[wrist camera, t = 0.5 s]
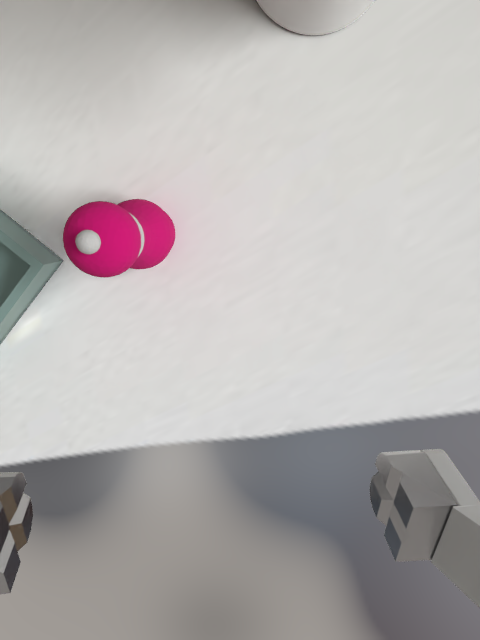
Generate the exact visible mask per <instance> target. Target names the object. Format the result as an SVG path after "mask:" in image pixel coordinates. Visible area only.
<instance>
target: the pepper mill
mask: <svg viewBox="0 0 480 640" xmlns="http://www.w3.org/2000/svg"><path fill="white" fill-rule="evenodd" d="M174 240H175V228H174V225H173V222H172V220H171V218H170V217H169V216H168V215H167V213H165V212H164V211H163V210H162V209H161V208H160V207H159V206H157V205H156V204H154V203H152V202H150V201H147V200H142V199H133V200H128V201H124V202H122V203H119V204H118V205H116V204H113V203H109V202H103V201H98V202H91V203H88V204H85V205H83V206H81V207H79V208H78V209H76V210H75V211H74V212H73V213H72V214H71V216H70V217H69V218H68V220H67V222H66V225H65V228H64V233H63V242H64V248H65V250H66V253H67V255H68V257H69V258H70V260H71V261H72V262H73V263H74V265H75V266H76V267H78V268H79V269H80V270H81V271H83V272H85V273H87V274H90V275H92V276H97V277H112V276H116V275H119V274H121V273H123V272H125V271H126V270H127V269H129V268H133V269H146V268H150V267H153V266H155V265H157V264H159V263H160V262H161V261H163V260H164V259H165V257H166V256H167V255H168V253H169V252H170V250H171V248H172V246H173V244H174Z"/></svg>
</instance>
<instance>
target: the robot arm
mask: <svg viewBox="0 0 480 640" xmlns="http://www.w3.org/2000/svg"><path fill="white" fill-rule="evenodd" d="M256 1H257V2H258V4H259V6H260V7H261V8H262V10H263V11H264V12H265V13H266V14H267V15H268V16H269V17H270V18H271V19H272V20H273V21H274V22H276V23H277V24H279V25H280V26H282V27H284V28H286V29H288V30H290V31H293V32H296V33H299V34H305V35H323V34H329V33H332V32H335V31H338V30H341V29H343V28H345V27H347V26H348V25H350V24H352V23H353V22H354V21H356V20H357V19H358V18H360V17H361V16H362V15H363V14H364V13H365V12H366V11H367V10H368V9H369V8H370V6H371V5H372V4H373V3H374V2H375V1H376V0H256ZM375 465H376V467H377V469H378V472H377V473H376V474H375V475H374V476H373V477H372V479H371V483H370V500H371V504H372V508H373V510H374V513H375V515H376V517H377V519H378V520H380V521H381V522H382V523H384V524H385V525H386V529H385V533H384V536H385V539H386V541H387V543H388V546H389V548H390V550H391V553H392V555H393V557H394V560H395V561H396V562H399V561H418V560H432V561H431V562H432V563H433V564H434V565H435V566H436V567H437V568H438V569H439V570H440V571H441V572H442V573H443V574H444V575H445V576H446V577H447V578H448V579H450V580H451V581H452V582H453V583H454V584H455V585H456V586H457V587H458V588H459V589H460V590H461V591H462V592H463V593H464V594H465V595H466V596H467V597H468V598H469V599H471V601H472V602H474V603H475V604H476V605H477V606H478V607H479V608H480V501H479V500H478V499H477V497H476V496H475V494H474V493H473V492H472V490H471V488H470V487H469V485H468V484H467V482H466V481H465V480H464V478H463V477H462V475H461V474H460V472H459V471H458V470H457V468H456V467H455V465H454V464H453V462H452V461H451V459H450V458H449V456H448V455H447V454H446V452H444V451H443V450H442V449H432V450H420V451H419V450H414V451H399V452H383V453H380V454H379V455H378V456H377V459H376V463H375ZM26 484H27V483H26V480H25V477H24V474H23V473H20V472H13V473H12V472H11V473H0V594H6V593H10V592H11V589H12V586H13V583H14V580H15V577H16V574H17V572H18V568H19V566H20V558H19V555H18V551H19V550H20V549H21V548H22V547H23V546H24V545H25V544H26V543H27V541H28V538H29V535H30V532H31V526H32V519H33V508H32V502H31V498H30V497H28V496H27V495H26V494H24V493H23V492H24V489H25V487H26Z"/></svg>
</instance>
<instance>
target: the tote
mask: <svg viewBox="0 0 480 640" xmlns="http://www.w3.org/2000/svg"><path fill="white" fill-rule="evenodd" d="M62 262H63V260H62V259H61V258H60V257H58V256H57V255H56V254H55V253H54V252H52V251H51V250H50V249H49V248H47V247H46V246H45V245H44V244H42V243H41V242H40V241H39V240H37V239H36V238H35V237H34V236H32V235H31V234H30V233H29V232H28V231H26V230H25V229H24V228H23V227H21V226H20V225H19V224H18V223H16V222H15V221H14V220H13V219H11V218H10V217H9V216H8V215H6V214H5V213H4V212H3V211H1V210H0V344H1V343H2V342H3V340H4V339H5V338H6V336H7V335H8V334H9V332H10V331H11V330H12V328H13V327H14V326H15V324H16V323H17V322H18V320H19V319H20V318H21V316H22V315H23V314H24V312H25V311H26V310H27V308H28V307H29V306H30V304H31V303H32V302H33V300H34V299H35V298H36V296H37V295H38V294H39V292H40V291H41V290H42V288H43V287H44V286H45V284H46V283H47V282H48V280H49V279H50V278H51V276H52V275H53V274H54V272H55V271H56V270H57V268H58V267H59V266H60V264H61V263H62Z"/></svg>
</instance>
